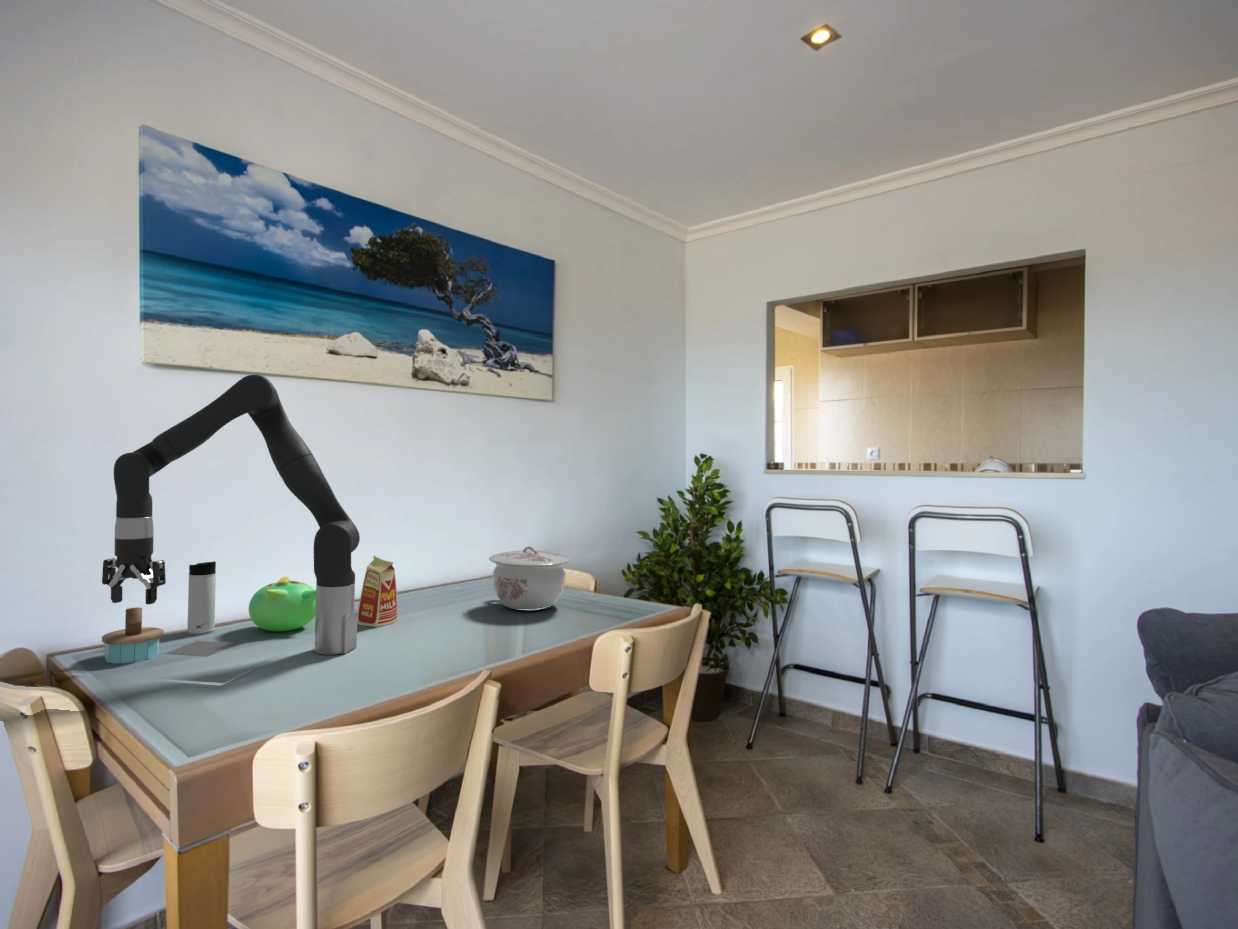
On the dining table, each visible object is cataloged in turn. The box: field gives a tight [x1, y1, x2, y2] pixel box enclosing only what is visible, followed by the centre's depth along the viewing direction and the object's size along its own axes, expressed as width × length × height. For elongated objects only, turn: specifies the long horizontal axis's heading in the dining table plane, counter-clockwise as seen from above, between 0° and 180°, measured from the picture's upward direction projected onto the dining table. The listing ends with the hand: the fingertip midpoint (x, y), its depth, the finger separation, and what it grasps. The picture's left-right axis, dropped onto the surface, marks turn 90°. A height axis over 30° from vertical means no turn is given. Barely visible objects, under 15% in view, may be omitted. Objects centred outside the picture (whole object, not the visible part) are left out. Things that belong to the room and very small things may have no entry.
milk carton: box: [357, 555, 399, 628], centre depth 200 cm, size 9×9×20 cm
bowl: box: [104, 638, 160, 664], centre depth 160 cm, size 10×10×5 cm
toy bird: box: [248, 576, 316, 633], centre depth 188 cm, size 18×17×15 cm
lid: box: [101, 607, 164, 645], centre depth 160 cm, size 12×12×7 cm
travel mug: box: [187, 561, 217, 636], centre depth 181 cm, size 6×7×20 cm
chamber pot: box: [488, 545, 571, 610], centre depth 226 cm, size 28×28×21 cm
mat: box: [164, 640, 238, 657], centre depth 168 cm, size 11×11×1 cm
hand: (133, 603), depth 159 cm, fingers open, 8 cm apart
